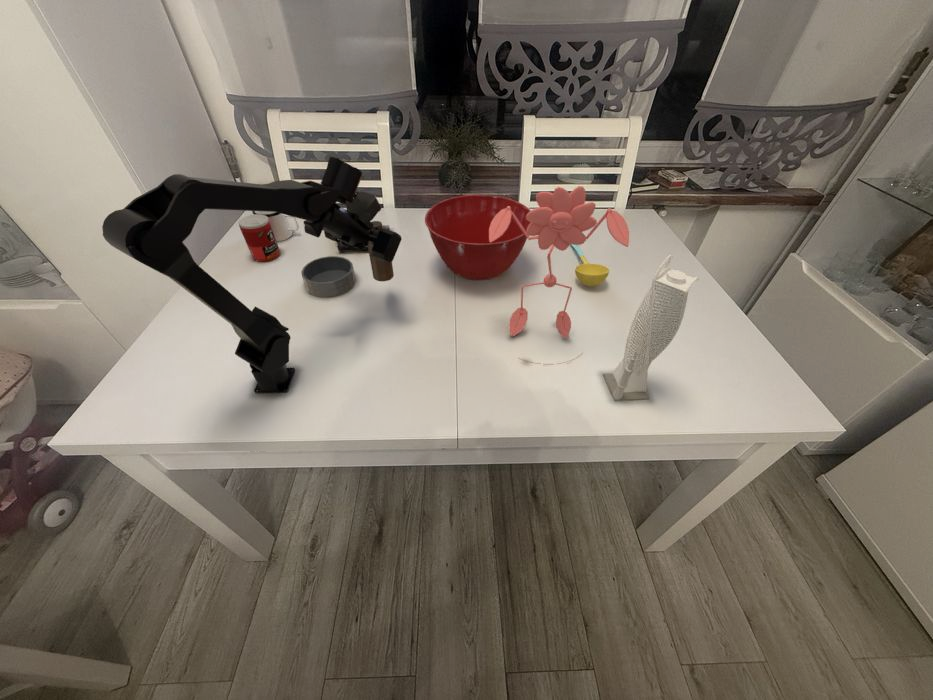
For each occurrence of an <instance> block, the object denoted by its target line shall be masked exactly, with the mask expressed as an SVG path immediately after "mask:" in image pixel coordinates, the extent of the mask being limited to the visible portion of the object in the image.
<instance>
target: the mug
mask: <svg viewBox="0 0 933 700" xmlns="http://www.w3.org/2000/svg"><path fill="white" fill-rule="evenodd" d="M251 212H252V213H251V214H252V215H254V214H260V215H265V216H267V217H268V219H269V222H270V224H271V227H272V230H273V233H274V235H275V238H276V241H277V243H278V242H282V241H286V240H287V239H289V238H291V236H292V234H293V232H292V231H298V230H299V228H300V225H299V222H298V218H296V217H292V216H289V215H285V214H282V213H278V212H267V211H251ZM289 218H293V220H294V221H295V224H296V227H291V225H290V222H289V220H288V219H289Z"/></svg>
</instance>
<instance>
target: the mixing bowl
mask: <svg viewBox="0 0 933 700" xmlns="http://www.w3.org/2000/svg"><path fill="white" fill-rule="evenodd" d="M507 206H510V207H511V210H512V212H513V213H514V215H515V216H516V218H517V219H518V221H519V222H520V224H521V225H522V227H523V228H524V230H525V231H526V230H527V227H528V225H529V224H530V223H531V222H529V221H528V220H526V215H527V214H528V213H529V212H530V211H531V209H530V208H529V207H528V206H526V205H525V204H523V203H521V202H520V201H517V200H514V199H511V198H508V197H504V196H499V195H493V194H468V195H465V194H464V195H460V196H459V195H458V196H454V197H450V198H447V199H444V200H442V201H439V202H437V203H435V204H434V205H433V206H431V207H430V208H429V209H428V210H427V212H426V213H425V215H424V223H425V226H426V228H427V230H428V233H429V236H430V238H431V241H432V243H433V245H434V247H435V249H436V251H437V253H438V255H439V257H440V259H441V260H442V262H443V263H444V264H445V266H446V267H447V268H448V269H449V270H450V271H451V272H453V274H455V275H457V276H459V277H462V278H463V279H467V280H470V281H488V280H490V279H491V280H492V279H494V278H497V277H499V276H501V275H502V274H504V273H505V272H507V271H508V270H509V269H510V268H511V267H512V266H513V264H514V263H515V262H516V260H517V258H518V257H519V256H520V254H521V252H522V251H523V249H524V246H525V244H526V242H527V240H528V238H526V236H525V235H524V233H523V232H522V230H521V229H520V227H519V226H518V224H517V223H516V221H515V220H514V218H513V217H512V216H511V223H510V225H509V227H508V229H507V230H506V231H505V233H504V234H503V235H502V236H501V237H499V238H498V239H496V240H495V241H493V242H491V243H490V241H489V228H490V224H491V221H492V220H493V218H494V217H495V215H496V214H497V213H498V212H500V211H501V210H502V209H505V208H507Z"/></svg>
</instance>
